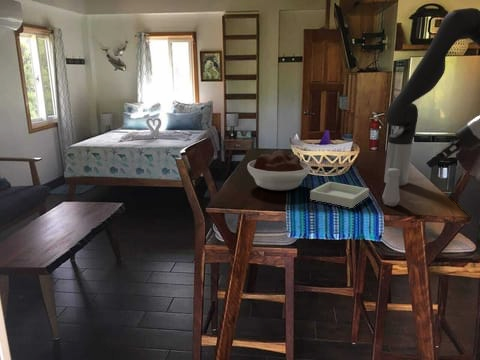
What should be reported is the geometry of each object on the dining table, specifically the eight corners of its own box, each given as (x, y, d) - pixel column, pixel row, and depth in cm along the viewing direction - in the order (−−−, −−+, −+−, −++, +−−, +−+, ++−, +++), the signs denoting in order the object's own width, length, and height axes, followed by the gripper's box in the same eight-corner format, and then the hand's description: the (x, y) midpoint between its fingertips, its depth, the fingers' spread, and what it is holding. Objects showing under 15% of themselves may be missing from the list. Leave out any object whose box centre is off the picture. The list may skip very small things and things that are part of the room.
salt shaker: (400, 207, 140) (404, 171, 137) (382, 206, 141) (386, 170, 138) (397, 202, 146) (401, 167, 142) (380, 201, 147) (384, 166, 143)
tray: (328, 190, 160) (329, 181, 159) (368, 197, 151) (369, 188, 150) (309, 200, 148) (310, 190, 147) (351, 208, 139) (352, 199, 138)
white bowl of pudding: (318, 194, 154) (321, 156, 150) (255, 198, 149) (255, 158, 145) (297, 178, 178) (298, 144, 174) (241, 180, 173) (241, 146, 169)
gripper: (472, 119, 129) (429, 150, 139) (464, 124, 118) (418, 157, 128) (488, 137, 127) (443, 168, 137) (482, 144, 116) (434, 176, 126)
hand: (431, 163), depth 132 cm, fingers open, 8 cm apart
